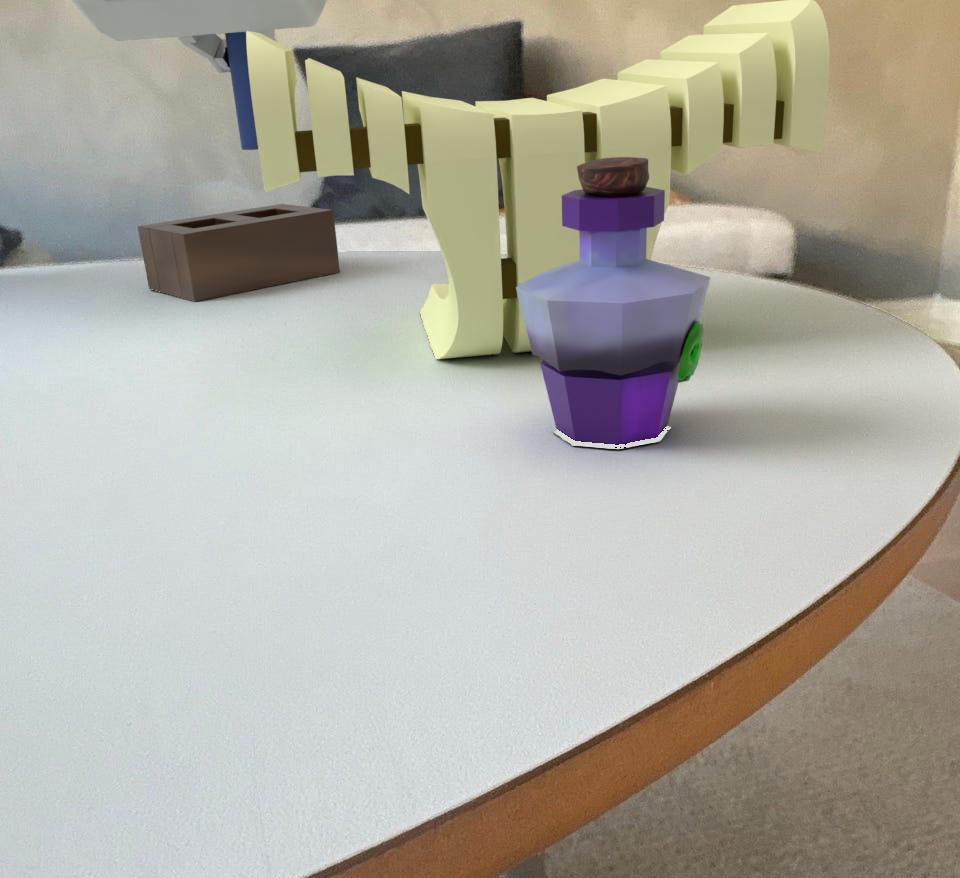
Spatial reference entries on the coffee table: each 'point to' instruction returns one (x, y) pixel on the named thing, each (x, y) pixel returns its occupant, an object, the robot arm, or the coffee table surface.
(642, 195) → the potion bottle
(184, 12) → the robot arm
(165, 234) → the holder
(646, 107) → the slatted curved stool
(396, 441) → the coffee table surface
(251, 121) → the handle
